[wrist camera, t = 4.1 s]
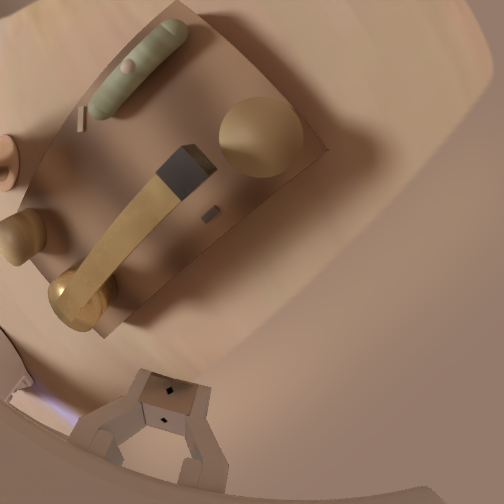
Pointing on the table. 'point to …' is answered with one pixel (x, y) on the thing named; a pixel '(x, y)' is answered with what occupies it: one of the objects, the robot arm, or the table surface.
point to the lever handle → (125, 239)
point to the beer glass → (8, 163)
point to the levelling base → (159, 157)
